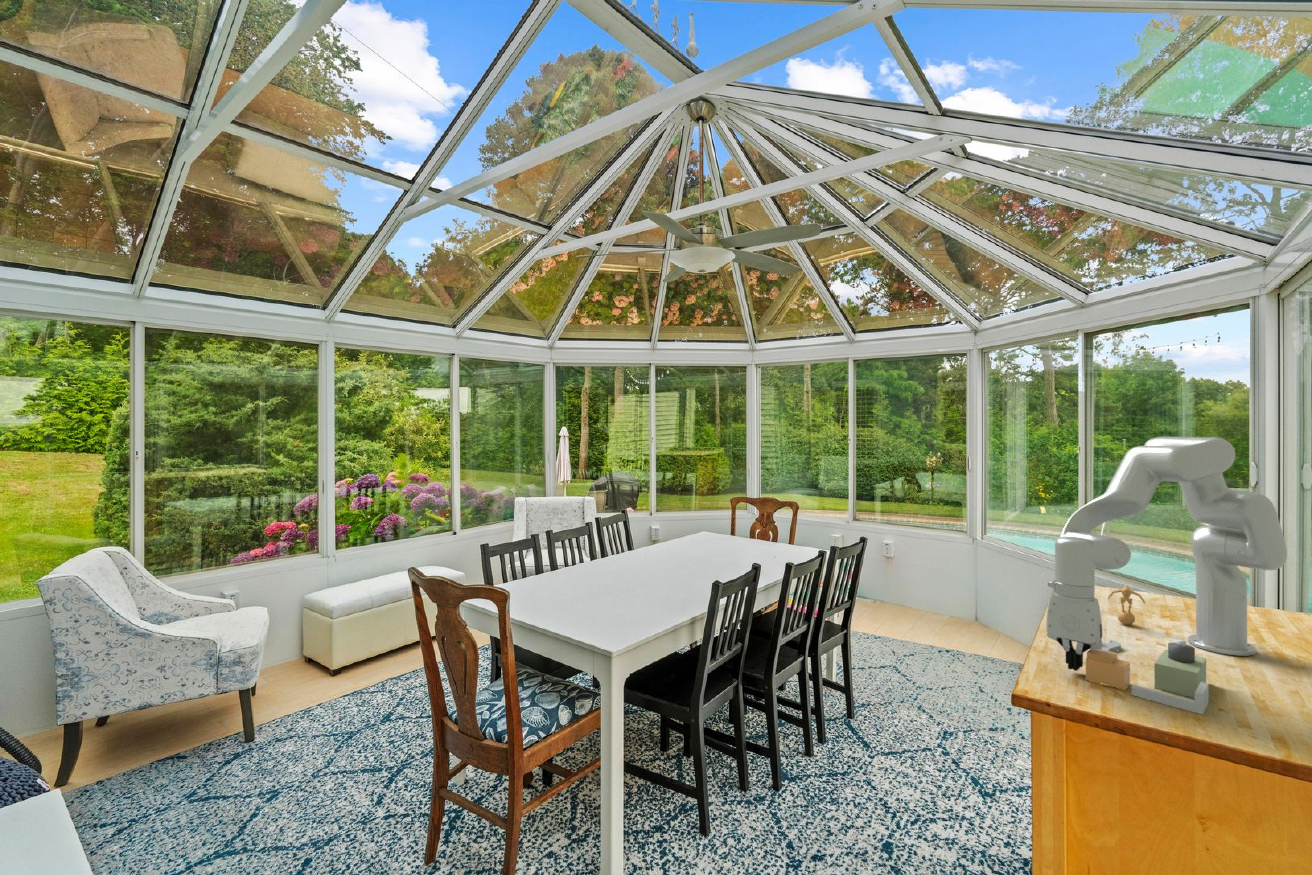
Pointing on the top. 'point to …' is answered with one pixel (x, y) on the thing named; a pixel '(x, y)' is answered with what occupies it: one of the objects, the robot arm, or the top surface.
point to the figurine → (1127, 616)
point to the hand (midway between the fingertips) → (1074, 668)
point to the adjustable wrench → (1111, 646)
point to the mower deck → (1179, 679)
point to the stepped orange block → (1107, 668)
